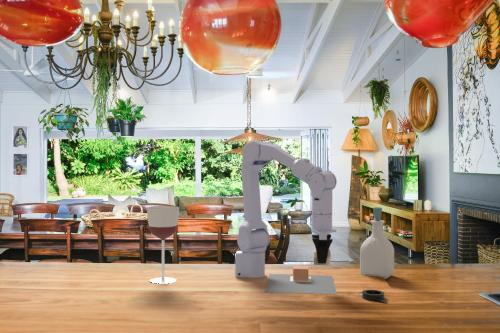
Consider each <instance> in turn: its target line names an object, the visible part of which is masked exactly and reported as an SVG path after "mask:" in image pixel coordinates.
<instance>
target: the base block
mask: <svg viewBox="0 0 500 333" xmlns="http://www.w3.org/2000/svg"><path fill="white" fill-rule="evenodd" d="M292 270H293V271H292V272H293V273H292V275H293V280H294V281H308V275H309V265H293V267H292Z"/></svg>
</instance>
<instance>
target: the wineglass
mask: <svg viewBox="0 0 500 333" xmlns="http://www.w3.org/2000/svg"><path fill="white" fill-rule="evenodd" d="M146 214H147V216H146V217H147V223H148V228H149V232H150V234H152V236H154V237H156V238H158V239H160V240H161V277H154V278H151V279H149V280H148V282H149V281H150V282H152V283H151V284H154V283H157V284H156V285H167V284H168V283H169V284H173V283H176V282H177V280H178V279H177V278H174V277H169V276H165V247H166V246H165V240H166V239H168V238H169V237H171V236H173V235H174V234H175V233H176V232H177V229H178V223H179V217H180V207H179V206H176V205H175V206H174V205H173V206H172V205H161V206H160V205H157V206H147V207H146ZM150 282H149V283H150ZM158 283H159V284H158Z"/></svg>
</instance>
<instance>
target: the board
mask: <svg viewBox="0 0 500 333" xmlns="http://www.w3.org/2000/svg"><path fill="white" fill-rule="evenodd" d="M333 278H334V277H333V275H326V274H325V275H323V274H322V275H319V274H308V281H294V280H293V274H288V273H287V274H286V273H284V274H282V273H269V274H268V279H267V282H266V286H265V289H264V293H278V294H279V293H282V294H284V293H287V294H315V295H317V294H319V295H337V294H338V293H337V290H336V285H335V282H334V281H335V280H334V279H333Z"/></svg>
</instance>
